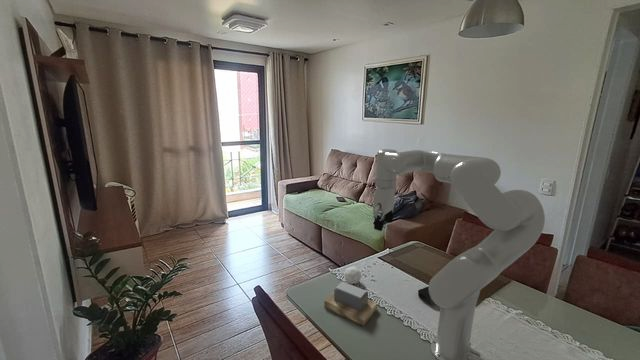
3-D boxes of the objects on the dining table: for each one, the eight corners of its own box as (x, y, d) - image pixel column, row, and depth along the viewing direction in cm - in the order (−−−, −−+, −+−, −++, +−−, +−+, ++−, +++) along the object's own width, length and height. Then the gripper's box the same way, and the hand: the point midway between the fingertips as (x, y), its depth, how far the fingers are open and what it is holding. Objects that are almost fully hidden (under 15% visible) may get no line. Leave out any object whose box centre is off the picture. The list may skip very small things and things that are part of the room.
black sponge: (431, 308, 117) (432, 300, 116) (415, 296, 124) (416, 289, 123) (458, 296, 124) (459, 288, 124) (441, 285, 132) (442, 278, 131)
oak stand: (376, 309, 116) (377, 302, 115) (364, 325, 107) (364, 318, 106) (338, 293, 126) (338, 287, 125) (324, 307, 117) (324, 300, 117)
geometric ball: (356, 288, 134) (365, 280, 129) (341, 285, 131) (349, 277, 126) (355, 273, 139) (363, 265, 134) (340, 269, 137) (348, 261, 132)
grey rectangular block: (341, 292, 122) (341, 280, 120) (367, 303, 115) (368, 290, 113) (334, 300, 117) (334, 287, 115) (360, 311, 110) (361, 298, 109)
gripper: (385, 177, 116) (383, 216, 121) (366, 186, 103) (364, 230, 107) (403, 179, 112) (400, 220, 116) (386, 189, 98) (383, 236, 103)
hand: (383, 225), depth 112 cm, fingers open, 9 cm apart
